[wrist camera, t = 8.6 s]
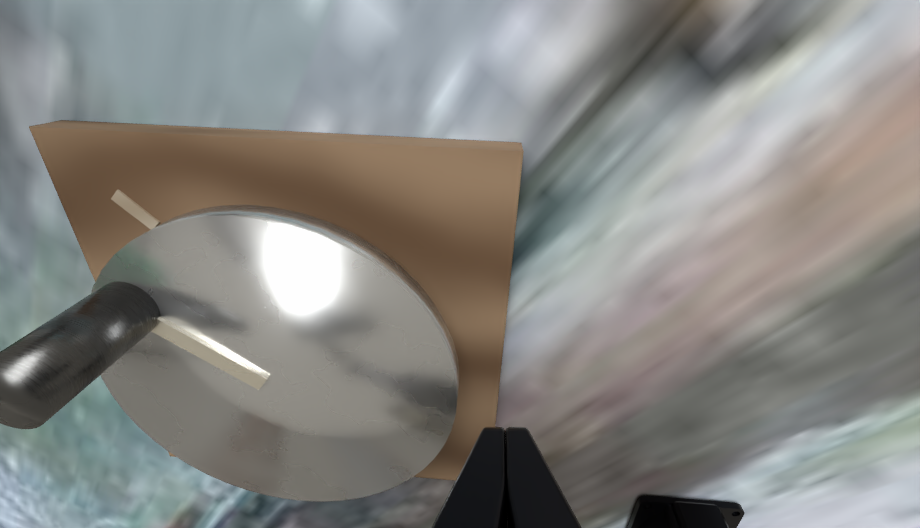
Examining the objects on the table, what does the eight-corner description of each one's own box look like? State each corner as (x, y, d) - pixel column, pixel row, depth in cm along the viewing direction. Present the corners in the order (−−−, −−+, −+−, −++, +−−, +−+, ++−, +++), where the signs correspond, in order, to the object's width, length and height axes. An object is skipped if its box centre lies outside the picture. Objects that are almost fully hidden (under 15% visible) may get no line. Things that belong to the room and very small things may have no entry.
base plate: (489, 461, 27) (489, 484, 26) (185, 436, 28) (169, 457, 27) (521, 142, 18) (523, 151, 16) (61, 120, 19) (26, 127, 17)
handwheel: (530, 329, 20) (551, 488, 13) (356, 488, 26) (307, 652, 19) (212, 106, 16) (-5, 160, 9) (101, 356, 23) (-76, 500, 16)
